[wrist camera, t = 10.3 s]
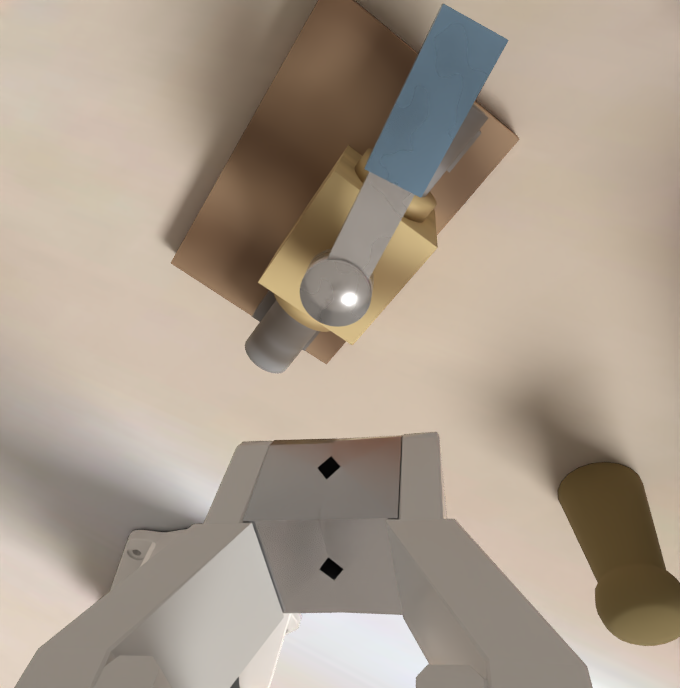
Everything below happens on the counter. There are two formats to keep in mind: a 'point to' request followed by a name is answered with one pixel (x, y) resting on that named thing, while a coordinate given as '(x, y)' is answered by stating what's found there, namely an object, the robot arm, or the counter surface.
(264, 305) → the valve
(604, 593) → the cork
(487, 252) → the counter surface
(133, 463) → the counter surface
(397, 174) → the lever
